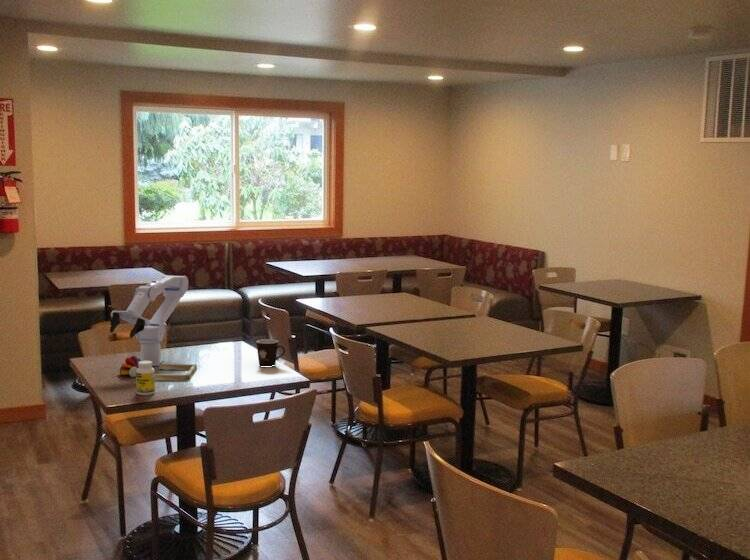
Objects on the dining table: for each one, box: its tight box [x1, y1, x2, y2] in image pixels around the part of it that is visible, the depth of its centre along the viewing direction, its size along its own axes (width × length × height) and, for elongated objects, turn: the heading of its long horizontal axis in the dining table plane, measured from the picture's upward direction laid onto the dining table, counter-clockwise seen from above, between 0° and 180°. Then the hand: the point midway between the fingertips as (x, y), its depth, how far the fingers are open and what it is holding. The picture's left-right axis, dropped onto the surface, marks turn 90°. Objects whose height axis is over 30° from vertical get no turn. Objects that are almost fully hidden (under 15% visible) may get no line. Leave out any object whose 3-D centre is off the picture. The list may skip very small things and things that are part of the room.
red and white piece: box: [117, 355, 142, 378], centre depth 295 cm, size 8×10×7 cm
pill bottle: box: [135, 361, 156, 396], centre depth 270 cm, size 6×6×11 cm
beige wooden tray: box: [155, 363, 198, 381], centre depth 296 cm, size 17×14×2 cm
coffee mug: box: [256, 338, 286, 367], centre depth 312 cm, size 12×9×10 cm
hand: (120, 333), depth 289 cm, fingers open, 7 cm apart
